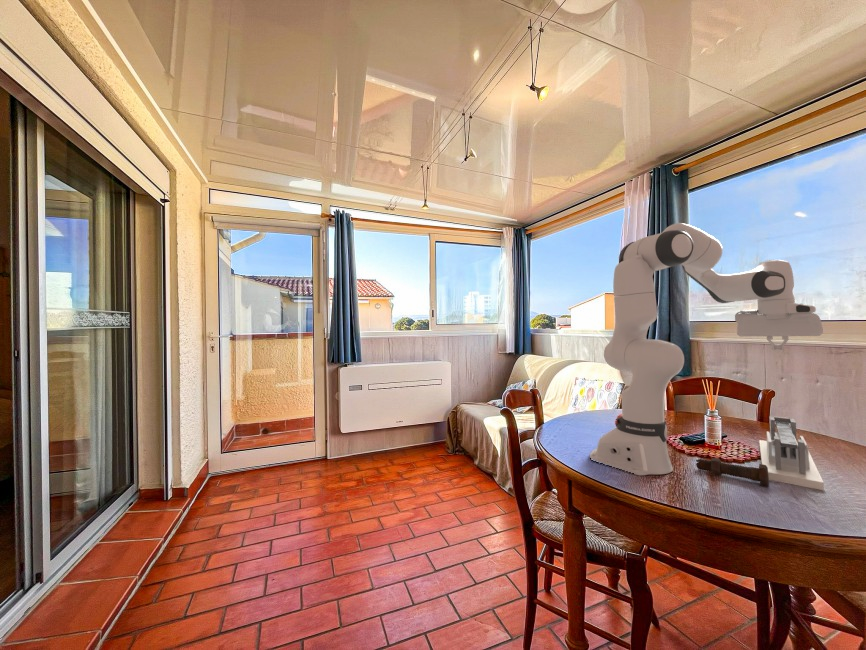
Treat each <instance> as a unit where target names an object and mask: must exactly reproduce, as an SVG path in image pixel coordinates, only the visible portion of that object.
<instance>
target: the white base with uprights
mask: <svg viewBox="0 0 866 650" xmlns="http://www.w3.org/2000/svg"><path fill="white" fill-rule="evenodd" d="M776 422H782V423H789V425H790V428H791V430H792V433H793V435H794V438H795V440H796V443H797V448H798V449H795V448H788V447H782V446H781V442H780V438H779V435H778V431H777V430H776ZM797 437H798V436H797V422H796V420H795V418H794V417H793V418H792V417H791V418H790V417H784V416H775V415H769V431H766V440H763V439H762V440H761V439H759V441H758V442H759V453H760V460H761V461H760V462H761V464H763V465H766V466H767V468H768V477H769V481H773V482H779V483H784V484H789V485H794V486H800V487H804V488H808V489H809V488H810V489H814V490H820V491H825V485H824V484H825V483H824V480H823V478H822V476H821V474H820V472H819V470H818V467H817V465H816V464H815V461H814V459H813V457H812V455H811V453H810V450H809V446H808V444H807V442H806V440H805V438H804V435H799V438H798V439H797Z"/></svg>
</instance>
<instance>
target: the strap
mask: <svg viewBox="0 0 866 650" xmlns="http://www.w3.org/2000/svg"><path fill="white" fill-rule="evenodd" d="M775 429H776V432H777V431H778V435H779V438H780V442H781V446H782V447H788V448H795V449H798V448H797V443H798V442H797V443H796V440H795V438H794V435H793V433H792V430H791V428H790V423H784V422H775Z"/></svg>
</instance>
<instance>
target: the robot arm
mask: <svg viewBox="0 0 866 650" xmlns="http://www.w3.org/2000/svg"><path fill="white" fill-rule="evenodd" d="M722 256H723V245H722V244H721V242H720V241H719V240H718V239H716V238H715V237H714V236H713V235H710V234H708V233H707V232H705V231H703V230H701V228H697V227H695V226H692V225H690V224H687V223H683V222H676V223H672V224H670V225H669V226H667V227H666V228H665V229H664V230H663V231H662V232H661V233H656V234H653V235H648V236H644V237H642V238H639V239H638V240H635V241H632V242H630V243H628V244H627V245H625V246H624V247H622V248H621V251H620V252H619V255H618V264H617V265H616V266H615V268H614V271H613V283H612V284H613V301H614V313H615V314H614V315H615V321H614V322H615V323H614V329H613V334H612V337H611V339H610V341H609V342H608V343H607V344H606V346H605V347H604V350H603V357H604V361H605V363H606V364H607V365H608V366H610V367H612V368H614V369H615V370H618V371H620V372H623V373H630V374H632V375H631V376H632V377H631V382H630V384H629V386H628V387H626V388H625V389H624V390H623V391H622V393H621V409H622V410H621V411H622V413H621V414H619V415H617V416H616V419H615V420H614V425H615V428H613V429H611V430H610V431H608V432H607V433H605V434H603V435H602V436H600V438H599V439H598V442H597V447H596V448H594V449H593V450H592V451H590V453H589V459H590V458H591V459H593V460H595V461H598V462H601V463H604V464H607V465H610V466H612V467H611V468H613V467H616V468H619V469H622V470H625V471H624V472H626V471H628V472H627V473H629V472H631V473H630V474H632V473H634V474H633V475H636V476H647V475H665V474H666V475H667V474H669V473H671V472H673V471H674V467H673V465H672V462H671V459H670V455H669V449H668V445H667V440H668V426H667V421H666V420H665V394H666V390H667V387H668V385H669V383H670V381H671V380H672V379H673V378H674V377H675V376H677V375H678V374H679V373H680V372H681V371H682V370H683V367H684V365H685V355H684V352H683V350H682V349H681V347H680V346H678V345H677V344H675V343H673V342H670V341H666V340H662V339H650V338H647V335H648V330H649V329H650V328H649V327H650V326H651V325H652V324H653V323H655V321H656V320H657V318H658V309H657V300H656V299H657V298H656V296H657V295H656V288H655V283H654V277H653V276H654V273H655V272H657V271H661V270H665V269H669V268H671V267H676V266H679V265H681V266H682V270H683V271H684V273H685V274H686V275H687V276H688V277H690V278H691V279H692V280H693V281H695V282H696V283H697V284H698V285H700V286H701V287H702V288H703V289H704V290H705V291H707V292H708V294H709V296H710V297H711V298H712V299H713V300H714V301H716V302H717V303H719V304H728V303H734V302H743V301H745V302H746V301H754V300H757V309H749V310H747V309H746V310H745V309H744V310H740V311H738V312H736V313H735V315H734V320H735V323H737V326H736V327H737V328H736V334H737V336H739V337H740V338H741V337H766V340H767V341H768V343H769V344H770V345H771V351H776V350H777V351H785V344H786V343H788V341H789V337H819V336H821V335H822V334H823V333H824V329H823V324H822V320H821V318H820V316H819V315H818V314H816V310H817V309H816V306H814V305H809V304H804V303H796V302H795V301H796V297H795V296H794V292H793V290H794V288H795V287H794V286H795V279H794V273H793V269H792V265H791V263H790V262H789V261H787V260H783V259H770V260H764V261H761V262H759V264H758V265H757V267H755V268H754V269H751V270H749V271H744V272H740V273H739V272H738V273H730V274H720V273H718V272H716V271H715V270H714V269H713V268H714V267H715V266H716V265H717V264H718V263H719V261H720V260H721V258H722ZM773 337H781V339H782V340H783V341H782V342H781V343H779V344H777V343H775V344H774V342H773ZM616 468H615V469H616ZM619 469H618V470H619ZM622 470H621V471H622Z"/></svg>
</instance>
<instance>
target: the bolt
mask: <svg viewBox="0 0 866 650" xmlns="http://www.w3.org/2000/svg"><path fill="white" fill-rule="evenodd" d="M695 466H696V468H697V469H698V470H700V471H706V472H710V473H711V475H713V476H717V477H721V476H722V475H726V476H731V477H737V478H740V479H741V478H743V479H746V480H750V481H753V482H754V481H755V482H758V483H759V484H760V486H761V487H764V488H769V486H770V480H769V477H768V468H767V466H766V465H763V464H762V463H759V465H758V467H754V466H744V465H739V464H734V463H728V462H722V460H721V458H717V457H713V458H711V460H710V459H703V458H698V459H696V463H695Z"/></svg>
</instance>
